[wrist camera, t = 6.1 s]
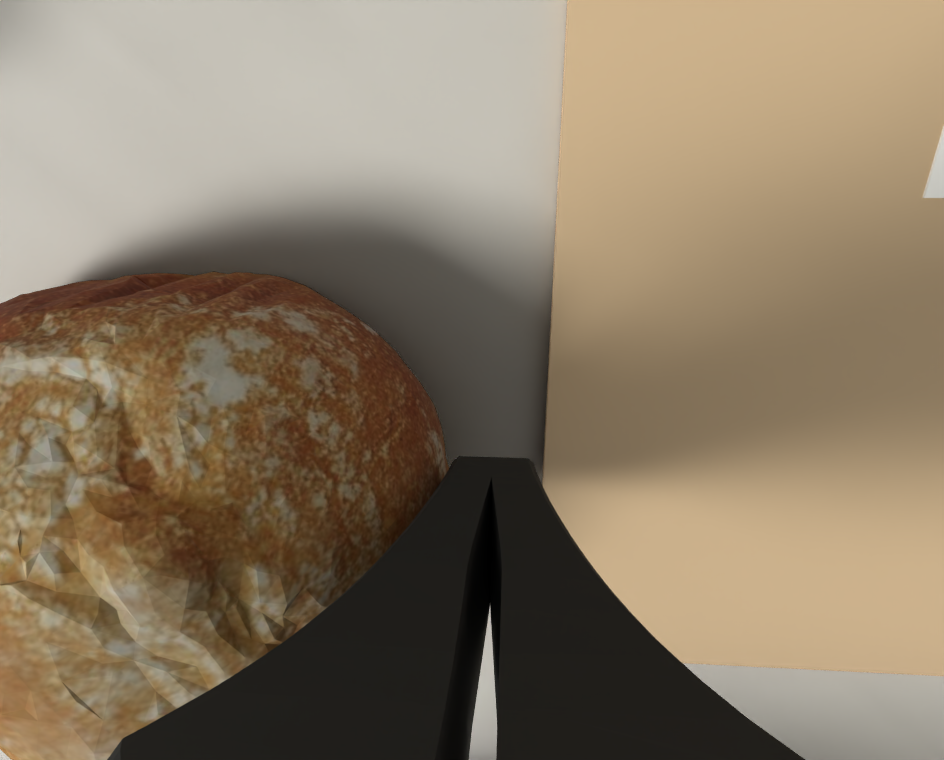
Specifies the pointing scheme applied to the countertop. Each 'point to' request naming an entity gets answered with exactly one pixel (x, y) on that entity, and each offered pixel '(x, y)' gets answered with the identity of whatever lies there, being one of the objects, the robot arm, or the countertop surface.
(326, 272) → the countertop surface
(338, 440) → the bread roll
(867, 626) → the envelope
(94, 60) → the countertop surface
